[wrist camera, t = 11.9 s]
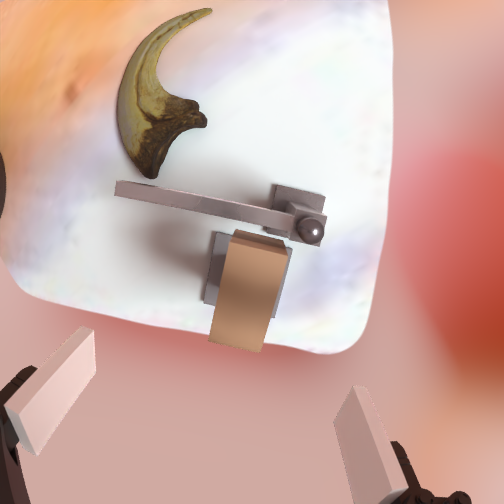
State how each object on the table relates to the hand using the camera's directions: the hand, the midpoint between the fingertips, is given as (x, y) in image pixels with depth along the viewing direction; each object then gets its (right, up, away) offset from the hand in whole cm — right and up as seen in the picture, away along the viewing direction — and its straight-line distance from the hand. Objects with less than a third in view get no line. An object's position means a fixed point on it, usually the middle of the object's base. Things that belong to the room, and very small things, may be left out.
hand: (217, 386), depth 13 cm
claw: (-7, +24, +15) cm, 30 cm away
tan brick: (+1, +6, +18) cm, 19 cm away
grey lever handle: (-1, +12, +17) cm, 21 cm away
